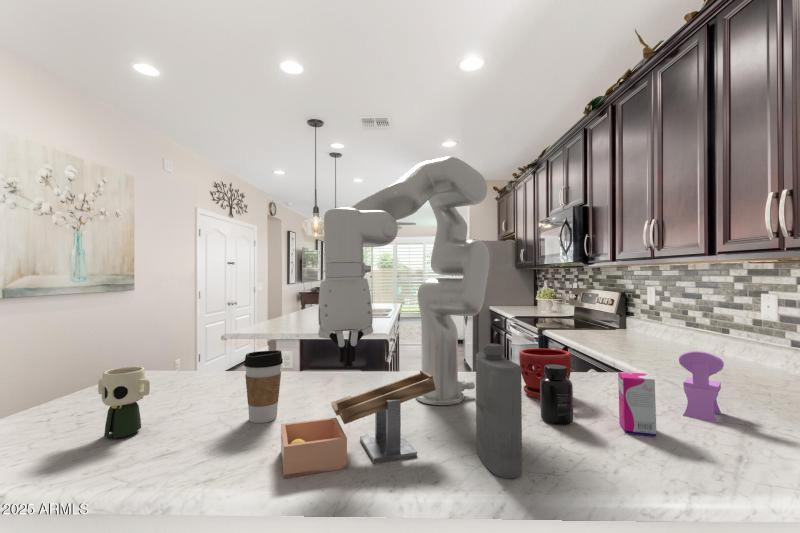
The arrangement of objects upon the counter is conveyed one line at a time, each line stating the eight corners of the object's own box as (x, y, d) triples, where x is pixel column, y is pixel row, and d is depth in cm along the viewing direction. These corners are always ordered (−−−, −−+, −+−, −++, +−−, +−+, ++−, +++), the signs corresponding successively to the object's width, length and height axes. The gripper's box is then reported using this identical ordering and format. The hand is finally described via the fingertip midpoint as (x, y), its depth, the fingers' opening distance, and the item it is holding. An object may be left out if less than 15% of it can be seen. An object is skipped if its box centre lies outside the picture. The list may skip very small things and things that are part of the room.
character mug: (82, 440, 77) (84, 374, 77) (112, 426, 84) (113, 365, 84) (135, 442, 76) (136, 375, 76) (160, 428, 83) (161, 366, 83)
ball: (299, 432, 70) (284, 444, 69) (301, 439, 67) (285, 452, 66) (309, 445, 70) (294, 458, 69) (311, 453, 67) (295, 466, 66)
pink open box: (336, 443, 75) (336, 417, 75) (346, 468, 66) (346, 438, 66) (280, 451, 72) (281, 424, 72) (283, 478, 62) (283, 446, 62)
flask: (470, 440, 77) (469, 338, 77) (499, 439, 77) (499, 338, 78) (489, 479, 62) (489, 353, 62) (526, 479, 62) (525, 352, 63)
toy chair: (726, 413, 92) (725, 349, 92) (723, 424, 85) (722, 355, 86) (683, 405, 98) (682, 345, 98) (677, 414, 91) (676, 350, 91)
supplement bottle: (573, 417, 89) (573, 364, 89) (573, 428, 83) (572, 371, 83) (541, 413, 92) (541, 362, 92) (538, 423, 86) (538, 368, 86)
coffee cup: (270, 426, 84) (270, 356, 84) (235, 423, 86) (235, 354, 86) (289, 413, 92) (289, 349, 92) (256, 410, 94) (257, 347, 94)
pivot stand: (398, 435, 79) (398, 385, 80) (416, 456, 70) (416, 400, 70) (360, 440, 77) (360, 389, 77) (373, 463, 67) (373, 405, 68)
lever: (416, 378, 84) (413, 364, 84) (436, 390, 74) (432, 375, 74) (332, 408, 78) (328, 393, 77) (342, 426, 68) (337, 410, 68)
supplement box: (648, 426, 84) (648, 372, 84) (657, 437, 78) (656, 379, 79) (618, 423, 86) (617, 370, 86) (624, 433, 80) (623, 377, 80)
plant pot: (574, 393, 108) (574, 349, 108) (566, 406, 97) (565, 357, 97) (526, 386, 115) (526, 345, 115) (513, 397, 104) (513, 352, 104)
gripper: (376, 270, 83) (378, 357, 83) (303, 273, 78) (305, 365, 78) (386, 271, 76) (389, 366, 76) (307, 273, 71) (310, 375, 71)
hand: (346, 365), depth 77 cm, fingers closed
